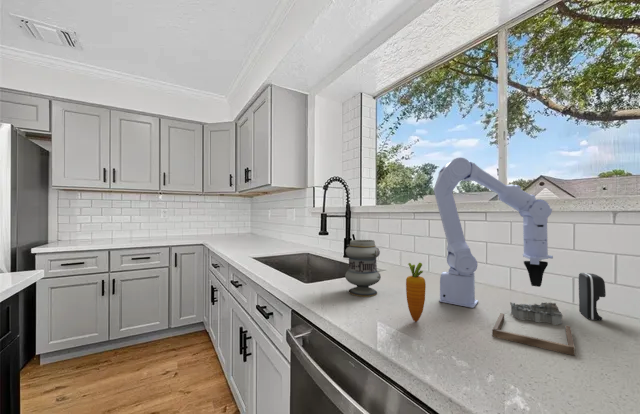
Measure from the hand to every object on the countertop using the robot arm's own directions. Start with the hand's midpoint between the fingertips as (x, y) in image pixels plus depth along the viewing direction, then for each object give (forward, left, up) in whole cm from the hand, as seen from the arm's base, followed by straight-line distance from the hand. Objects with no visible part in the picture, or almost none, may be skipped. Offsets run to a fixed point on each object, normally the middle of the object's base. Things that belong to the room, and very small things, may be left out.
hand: (536, 285), depth 84 cm
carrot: (-23, -35, -6) cm, 42 cm away
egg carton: (0, -12, -7) cm, 13 cm away
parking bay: (0, -25, -6) cm, 26 cm away
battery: (+12, -1, -6) cm, 14 cm away
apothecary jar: (-47, -20, -6) cm, 52 cm away
